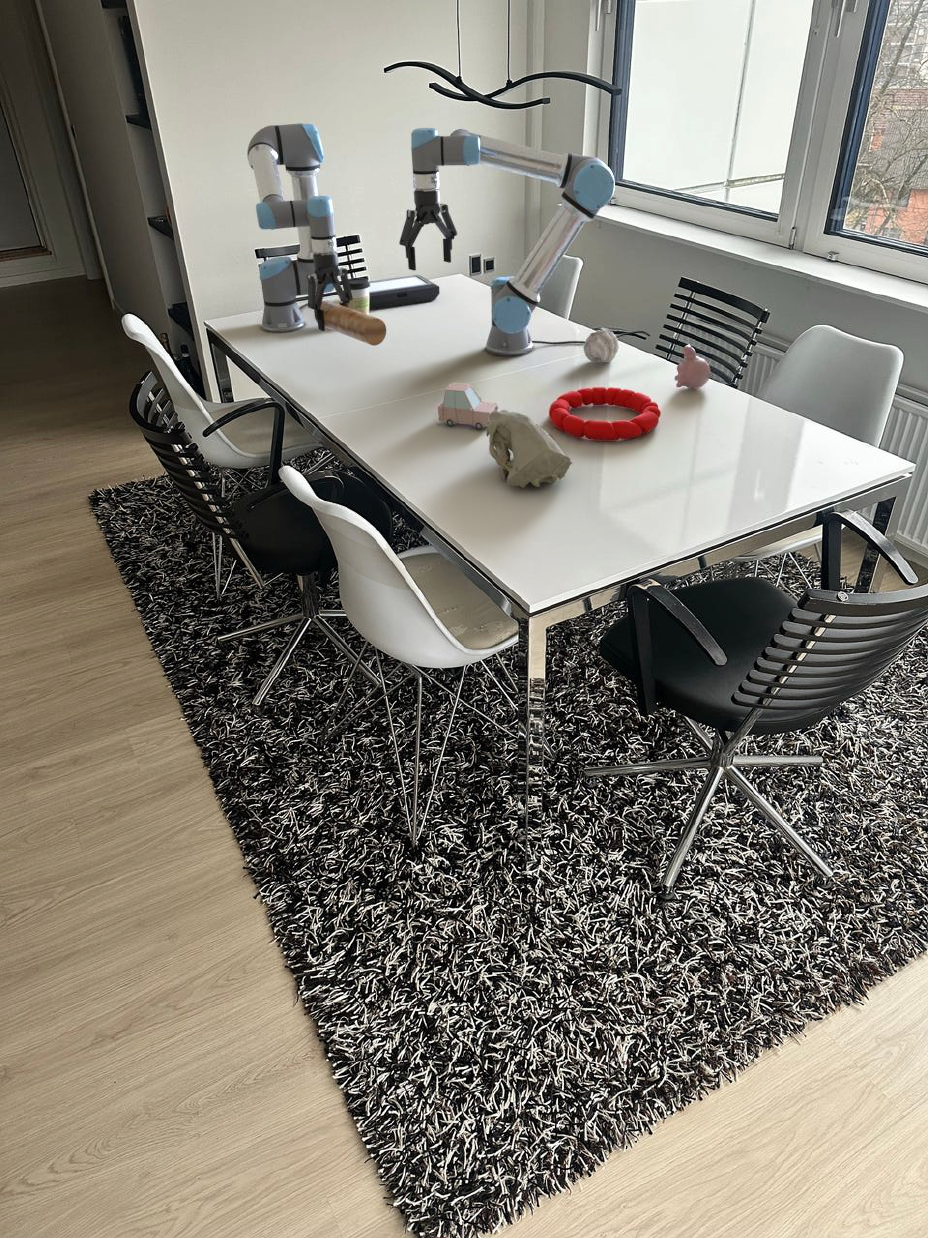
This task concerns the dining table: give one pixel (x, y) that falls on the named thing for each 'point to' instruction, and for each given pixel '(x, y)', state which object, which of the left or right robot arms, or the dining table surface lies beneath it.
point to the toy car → (465, 406)
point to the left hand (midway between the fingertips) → (333, 326)
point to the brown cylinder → (353, 323)
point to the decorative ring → (604, 428)
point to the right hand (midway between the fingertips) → (430, 265)
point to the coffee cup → (359, 295)
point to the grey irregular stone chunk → (525, 450)
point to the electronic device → (401, 291)
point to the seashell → (601, 346)
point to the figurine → (692, 370)
